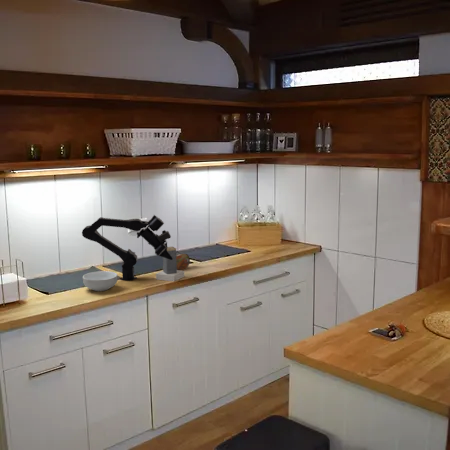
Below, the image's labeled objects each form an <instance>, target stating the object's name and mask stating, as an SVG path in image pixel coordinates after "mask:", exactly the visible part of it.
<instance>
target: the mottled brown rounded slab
mask: <svg viewBox="0 0 450 450" xmlns="http://www.w3.org/2000/svg"><path fill="white" fill-rule="evenodd" d="M190 262H191V260H190V256H189V254H187V253H180V254H176V265H177V270H179V271H183V270H184V269H187V268H189V265H190Z"/></svg>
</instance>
